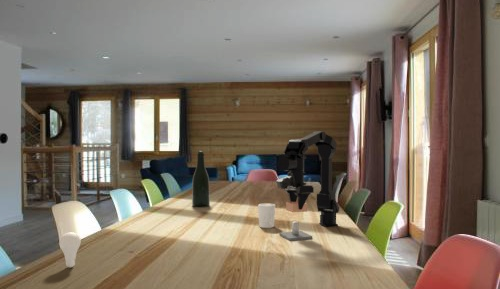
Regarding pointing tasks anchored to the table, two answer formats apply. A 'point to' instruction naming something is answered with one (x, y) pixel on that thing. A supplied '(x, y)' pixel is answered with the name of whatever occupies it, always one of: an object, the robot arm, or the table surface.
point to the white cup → (266, 215)
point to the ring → (295, 207)
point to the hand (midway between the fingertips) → (296, 208)
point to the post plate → (296, 237)
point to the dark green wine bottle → (200, 184)
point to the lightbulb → (70, 247)
